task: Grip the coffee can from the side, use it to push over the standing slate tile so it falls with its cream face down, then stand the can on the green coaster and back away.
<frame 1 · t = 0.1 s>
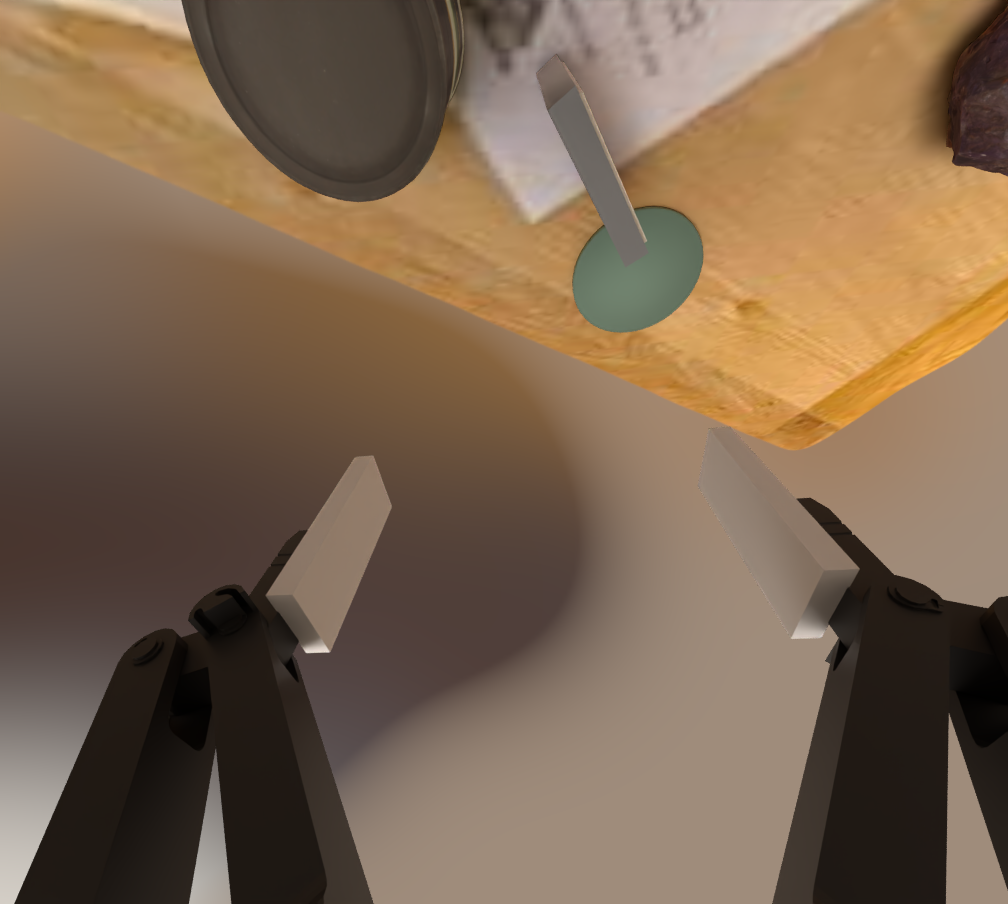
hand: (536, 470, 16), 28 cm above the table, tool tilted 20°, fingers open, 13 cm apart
rock: (986, 67, 27), on the table
slate tile: (580, 138, 29), on the table
coaster: (634, 275, 38), on the table
coffee can: (386, 29, 25), on the table
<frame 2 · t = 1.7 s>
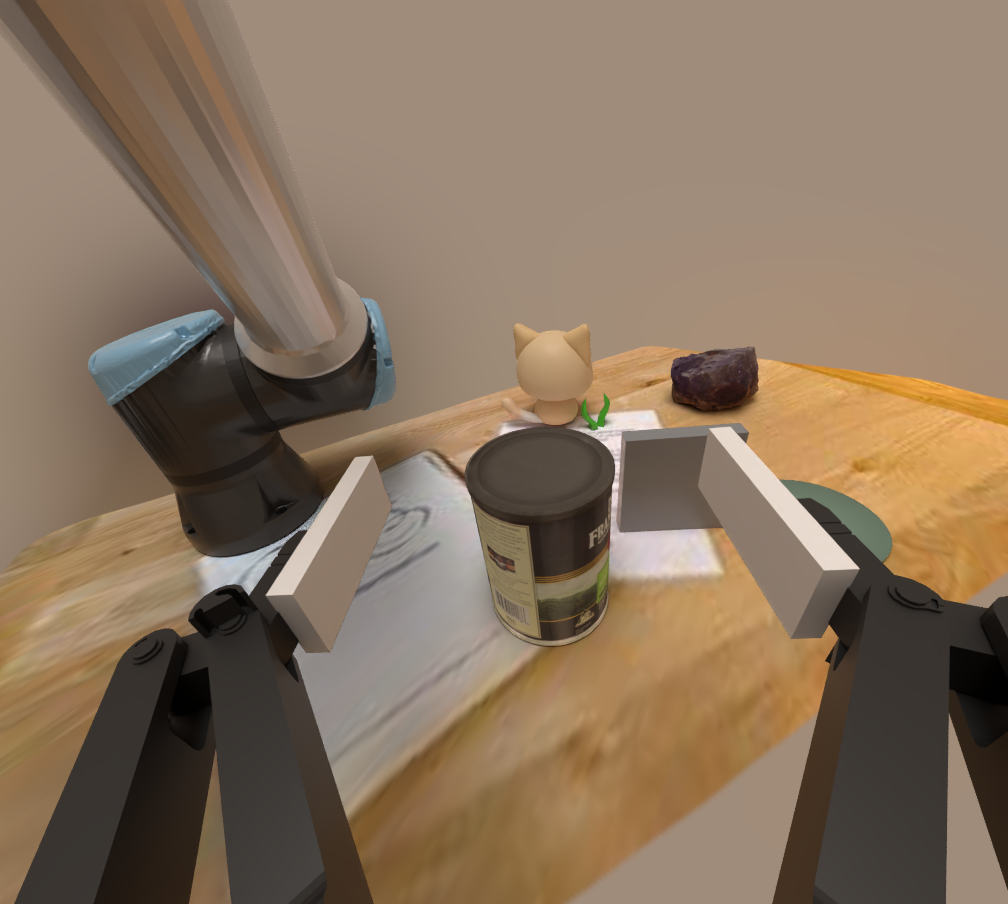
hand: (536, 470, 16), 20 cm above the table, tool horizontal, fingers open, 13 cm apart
rock: (710, 406, 58), on the table
slate tile: (668, 524, 39), on the table
kitten: (559, 420, 60), on the table
coaster: (805, 523, 38), on the table
coffee can: (548, 592, 35), on the table
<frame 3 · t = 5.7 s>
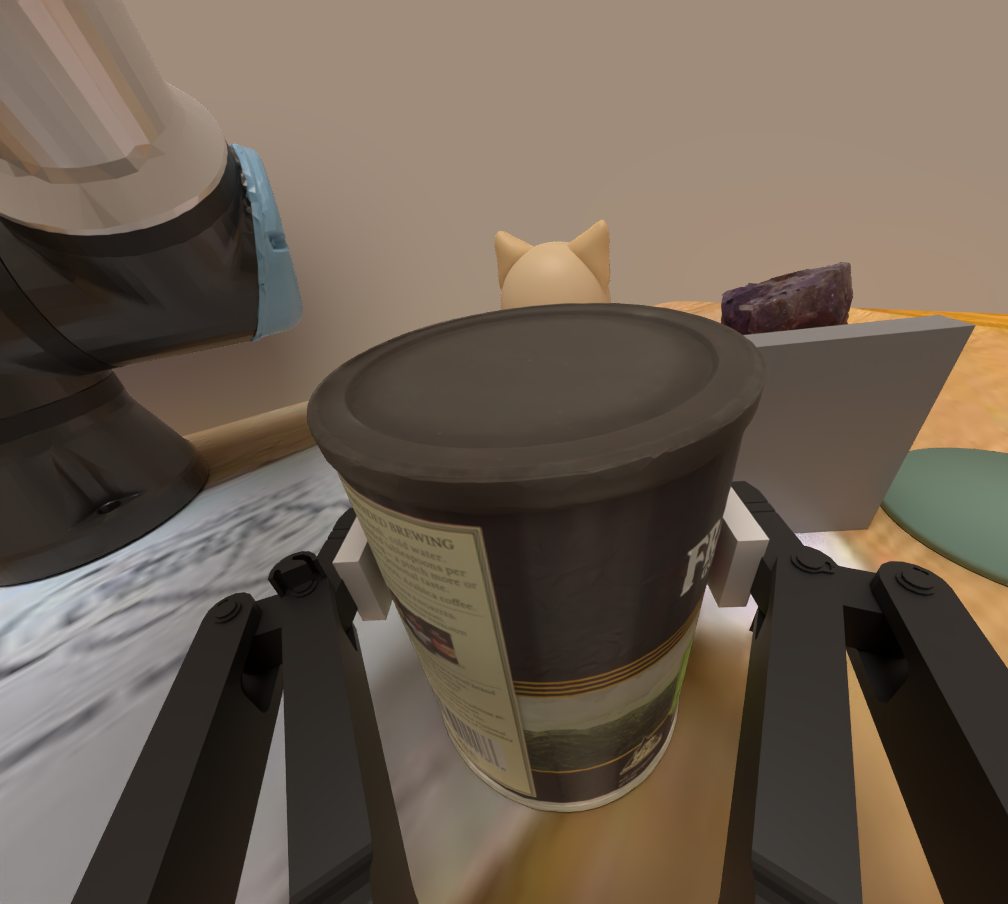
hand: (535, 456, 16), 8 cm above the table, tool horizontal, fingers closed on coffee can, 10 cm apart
rock: (775, 357, 42), on the table
slate tile: (762, 524, 22), on the table
kitten: (562, 382, 43), on the table
coffee can: (552, 662, 17), on the table, touching gripper
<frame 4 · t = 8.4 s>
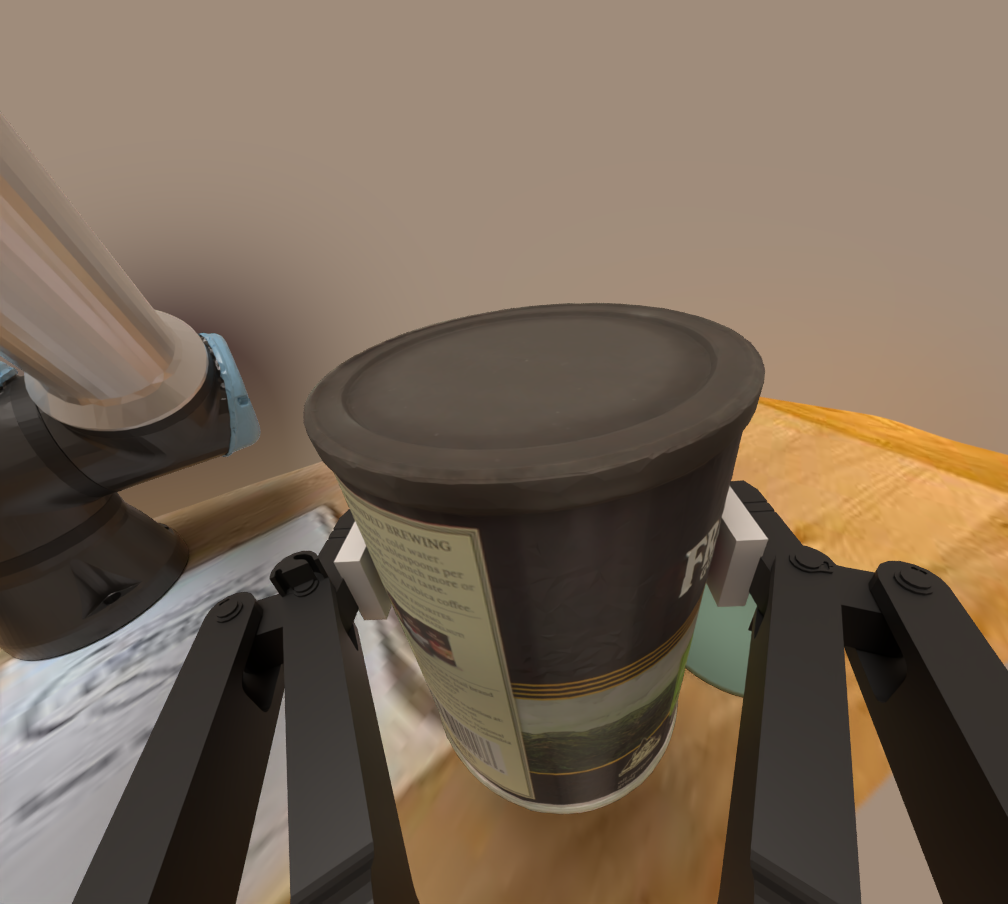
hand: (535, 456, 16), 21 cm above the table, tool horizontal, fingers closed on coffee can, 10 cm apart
coaster: (730, 618, 31), on the table
coffee can: (551, 663, 17), point 12 cm above the table, touching gripper
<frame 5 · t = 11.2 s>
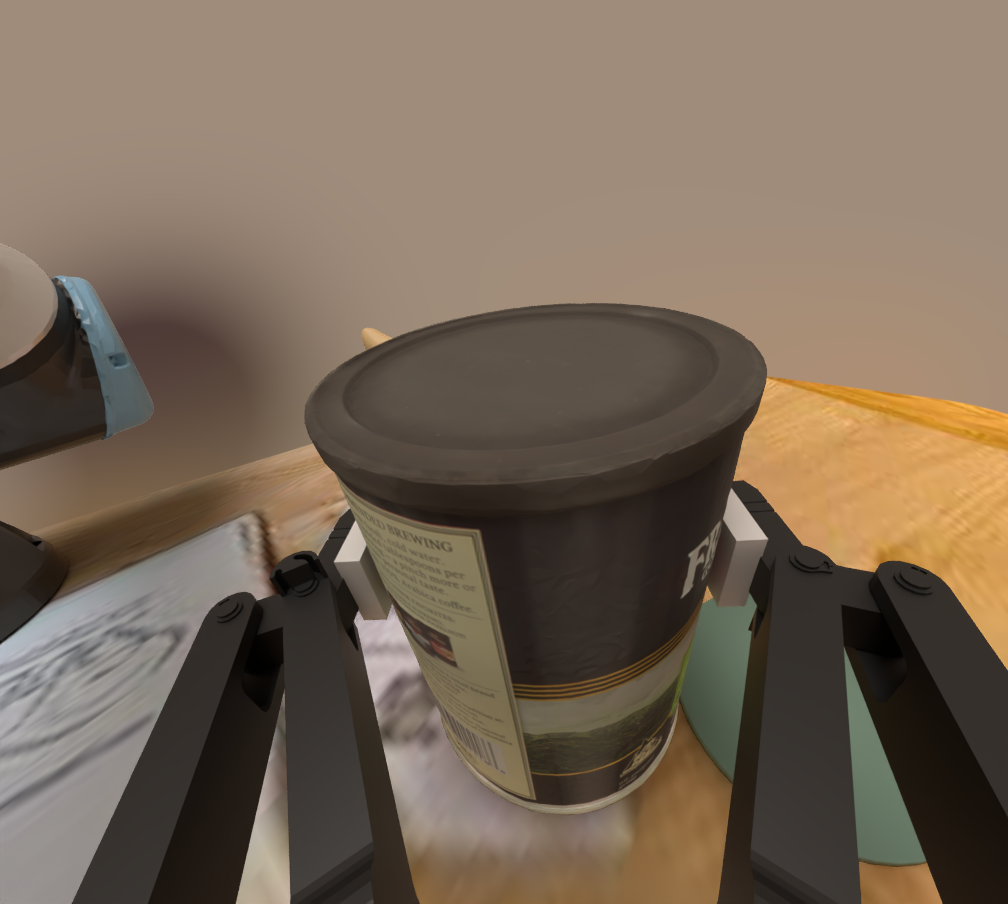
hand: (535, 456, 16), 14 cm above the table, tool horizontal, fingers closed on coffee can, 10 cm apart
kitten: (451, 464, 42), on the table
coaster: (800, 697, 20), on the table
coffee can: (551, 663, 17), point 6 cm above the table, touching gripper
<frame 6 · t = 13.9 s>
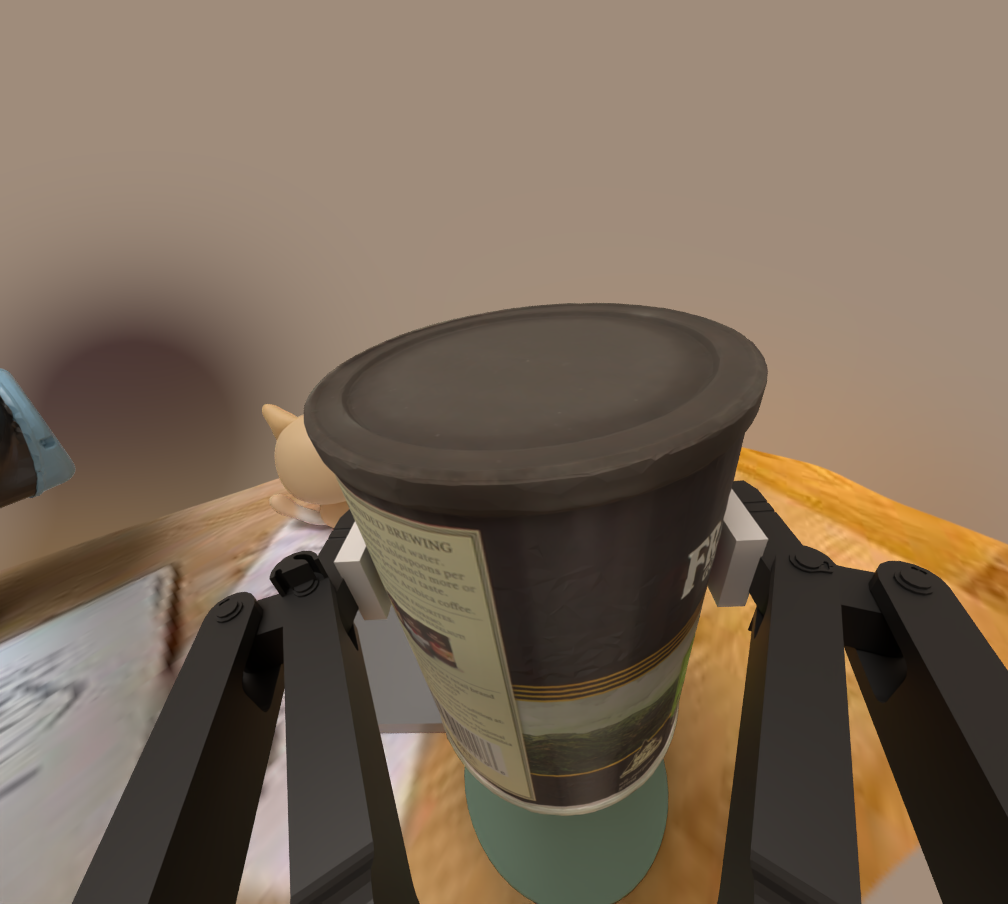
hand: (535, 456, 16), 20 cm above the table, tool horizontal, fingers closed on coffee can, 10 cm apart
slate tile: (372, 729, 26), point 1 cm above the table, tilted 90°
kitten: (358, 518, 46), on the table
coaster: (562, 763, 24), on the table
coffee can: (551, 664, 17), point 12 cm above the table, touching gripper
when the fingers open (10 cm above the table, at t = 16.3 s): coffee can drops 1 cm, resting on coaster.
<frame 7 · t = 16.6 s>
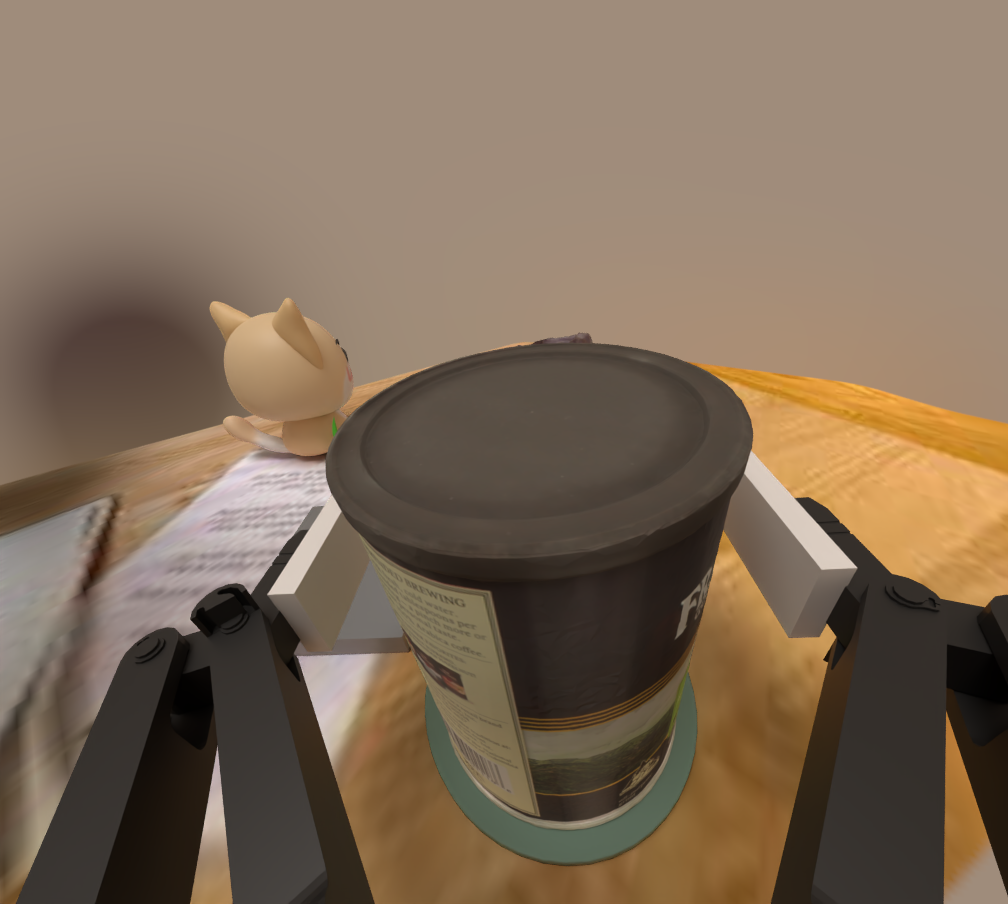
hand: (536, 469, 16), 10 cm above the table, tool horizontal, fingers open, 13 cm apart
rock: (548, 422, 40), on the table
slate tile: (315, 649, 21), point 1 cm above the table, tilted 90°
kitten: (328, 448, 41), on the table
coaster: (554, 682, 18), on the table
coffee can: (554, 680, 18), resting on coaster
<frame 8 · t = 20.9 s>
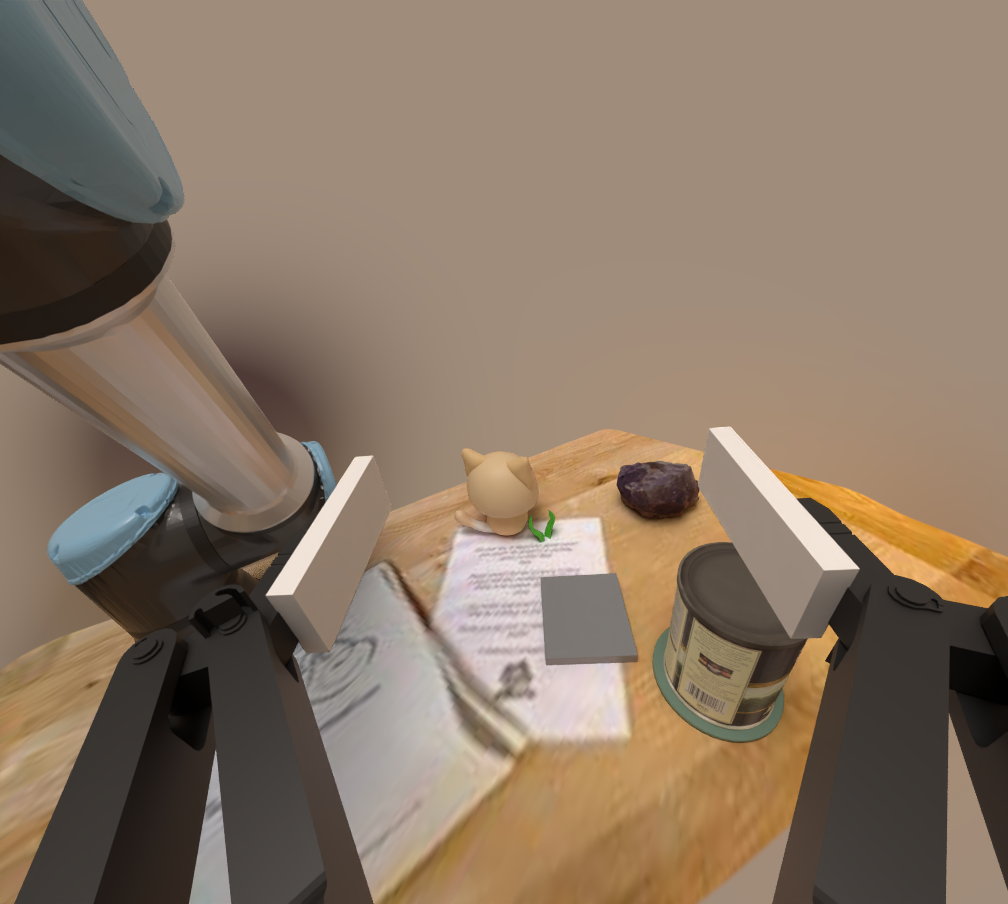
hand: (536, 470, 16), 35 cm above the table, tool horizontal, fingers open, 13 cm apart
rock: (655, 511, 62), on the table
slate tile: (591, 660, 43), point 1 cm above the table, tilted 90°
kitten: (511, 527, 63), on the table
coaster: (713, 675, 41), on the table
coffee can: (715, 675, 40), resting on coaster
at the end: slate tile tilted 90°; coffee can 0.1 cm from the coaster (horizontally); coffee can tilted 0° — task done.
